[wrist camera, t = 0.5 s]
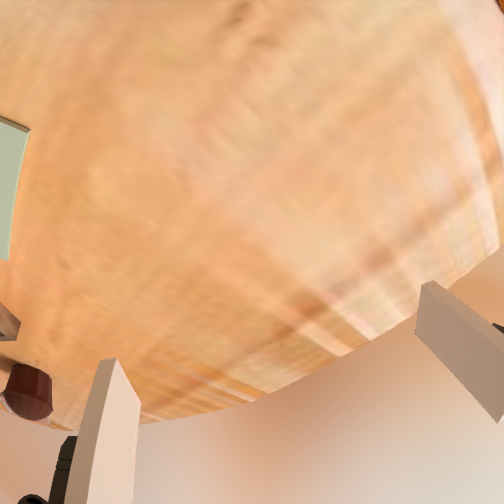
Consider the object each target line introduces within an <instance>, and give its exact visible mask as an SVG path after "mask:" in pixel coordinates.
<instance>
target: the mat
mask: <svg viewBox="0 0 504 504" xmlns="http://www.w3.org/2000/svg"><path fill="white" fill-rule="evenodd" d="M30 131H31V130H30V129H27V128H25V127H23V126H20V125H18V124H16V123H13V122H11V121H9V120H6V119H4V118H2V117H0V258H1V259H3V260H6V261H8V259H9V253H10V240H11V230H12V221H13V214H14V207H15V200H16V194H17V188H18V183H19V177H20V172H21V168H22V163H23V159H24V154H25V150H26V146H27V142H28V139H29V135H30Z"/></svg>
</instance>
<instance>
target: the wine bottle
mask: <svg viewBox="0 0 504 504" xmlns="http://www.w3.org/2000/svg"><path fill="white" fill-rule="evenodd" d="M498 1H499V3H500V6H501V8H502V10H503V12H504V0H498Z"/></svg>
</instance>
